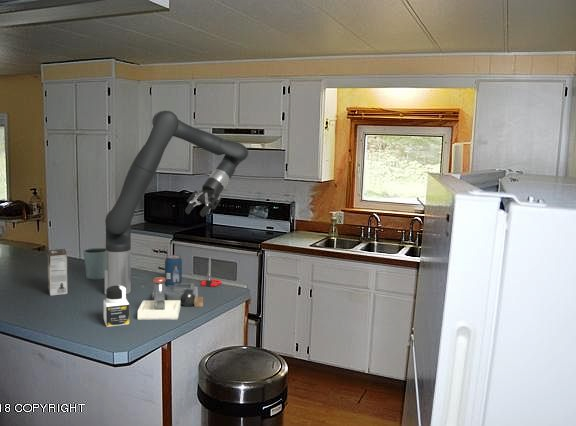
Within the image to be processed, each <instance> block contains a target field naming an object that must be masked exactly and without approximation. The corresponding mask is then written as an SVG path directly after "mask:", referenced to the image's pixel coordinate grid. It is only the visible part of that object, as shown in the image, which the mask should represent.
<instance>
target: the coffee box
mask: <svg viewBox="0 0 576 426" xmlns="http://www.w3.org/2000/svg"><path fill="white" fill-rule="evenodd" d="M46 254H47V284H48V285H47V288H48V292H49V296H57V295H58V296H59V295H60V296H61V295H67V294H68V253H67V251H66V249H65V248H59V249H58V248H57V249H47V253H46Z"/></svg>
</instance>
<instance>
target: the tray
mask: <svg viewBox="0 0 576 426" xmlns="http://www.w3.org/2000/svg"><path fill="white" fill-rule="evenodd" d="M180 311H181V300H165V310H154V300H152V299H150V300H149V299H147V300H145V299H144V300H142V302H141V304H140V305H139V307H138V309H137V320H145V321H146V320H148V321H149V320H178V319H179V316H180Z"/></svg>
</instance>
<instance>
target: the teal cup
mask: <svg viewBox="0 0 576 426" xmlns="http://www.w3.org/2000/svg"><path fill="white" fill-rule="evenodd" d="M82 252H83V259H84V260H83V261H84V268H85V276H86V279H88V280H103V279H105V273H104V271H105V270H106V247H105V248H104V247H90V248H86V249H84V250H83V251H82Z"/></svg>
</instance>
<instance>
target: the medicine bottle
mask: <svg viewBox="0 0 576 426" xmlns="http://www.w3.org/2000/svg"><path fill="white" fill-rule="evenodd" d="M105 295H106V299H103V320H104V324H105V326H106V328H109V327H117V326H126V325H129V324H130V302H129V301H128V299H127V294H126V288H125V287H123V286H118V285H117V286H111V287H109V288H107V289H106V294H105Z"/></svg>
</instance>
